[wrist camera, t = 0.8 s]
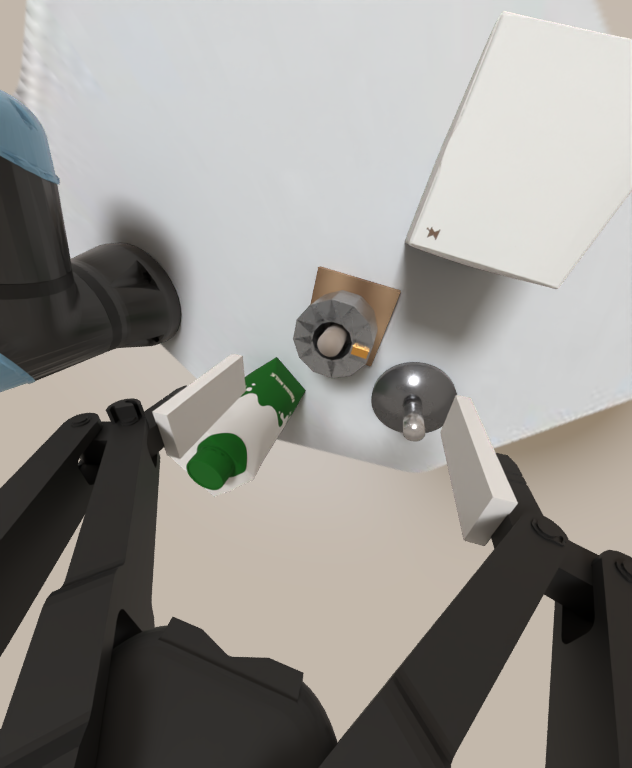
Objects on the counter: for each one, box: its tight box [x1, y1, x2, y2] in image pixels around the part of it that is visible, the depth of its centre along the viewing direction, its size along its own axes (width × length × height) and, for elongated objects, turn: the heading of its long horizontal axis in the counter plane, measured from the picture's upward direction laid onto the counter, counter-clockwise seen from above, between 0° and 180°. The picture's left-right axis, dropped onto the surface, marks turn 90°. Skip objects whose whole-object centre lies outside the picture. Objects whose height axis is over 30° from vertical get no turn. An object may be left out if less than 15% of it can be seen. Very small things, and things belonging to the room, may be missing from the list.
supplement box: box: [405, 11, 632, 289], centre depth 18 cm, size 9×9×15 cm
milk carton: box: [166, 357, 306, 497], centre depth 34 cm, size 9×9×20 cm
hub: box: [372, 362, 457, 441], centre depth 33 cm, size 11×11×8 cm
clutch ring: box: [293, 290, 378, 378], centre depth 28 cm, size 8×8×5 cm
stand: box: [310, 267, 401, 366], centre depth 29 cm, size 10×10×10 cm
